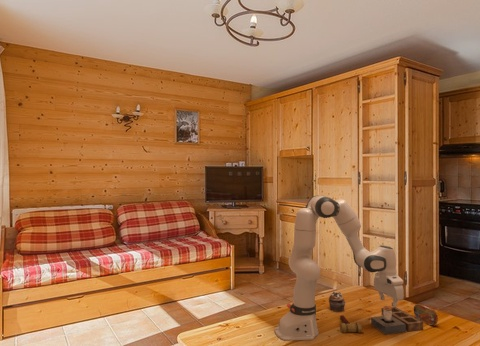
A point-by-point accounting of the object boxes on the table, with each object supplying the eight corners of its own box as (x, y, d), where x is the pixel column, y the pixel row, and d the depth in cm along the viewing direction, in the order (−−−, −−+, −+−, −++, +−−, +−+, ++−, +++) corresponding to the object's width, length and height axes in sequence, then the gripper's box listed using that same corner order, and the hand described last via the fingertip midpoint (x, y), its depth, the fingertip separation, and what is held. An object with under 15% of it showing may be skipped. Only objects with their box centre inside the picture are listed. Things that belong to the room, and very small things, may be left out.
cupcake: (327, 311, 205) (327, 294, 205) (330, 305, 214) (329, 289, 214) (344, 313, 201) (344, 296, 201) (346, 307, 210) (345, 291, 210)
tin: (413, 316, 195) (413, 302, 195) (418, 316, 196) (417, 301, 196) (434, 328, 181) (433, 312, 181) (439, 327, 181) (438, 311, 182)
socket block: (385, 334, 174) (384, 326, 174) (371, 324, 185) (370, 317, 185) (405, 332, 176) (405, 324, 176) (390, 322, 188) (390, 315, 188)
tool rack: (408, 331, 177) (408, 323, 177) (381, 315, 198) (381, 308, 198) (423, 329, 179) (423, 322, 179) (395, 313, 200) (395, 306, 200)
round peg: (387, 330, 178) (386, 309, 179) (382, 327, 182) (381, 306, 183) (393, 329, 179) (393, 308, 180) (388, 326, 183) (388, 305, 183)
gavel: (331, 311, 197) (349, 311, 196) (332, 320, 196) (349, 319, 196) (342, 325, 176) (361, 324, 176) (342, 334, 175) (362, 334, 175)
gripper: (370, 272, 191) (371, 297, 191) (394, 283, 171) (395, 310, 171) (380, 271, 192) (381, 295, 192) (405, 281, 172) (406, 309, 172)
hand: (388, 303), depth 181 cm, fingers open, 8 cm apart
